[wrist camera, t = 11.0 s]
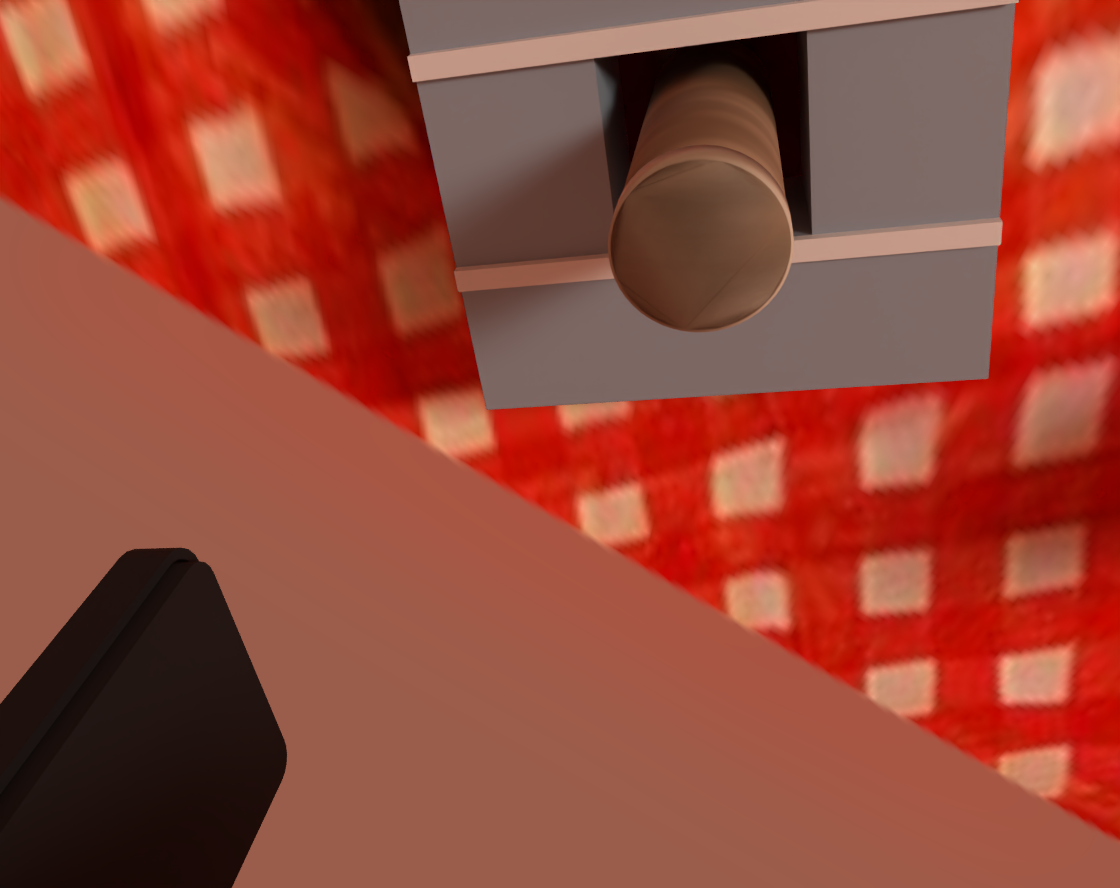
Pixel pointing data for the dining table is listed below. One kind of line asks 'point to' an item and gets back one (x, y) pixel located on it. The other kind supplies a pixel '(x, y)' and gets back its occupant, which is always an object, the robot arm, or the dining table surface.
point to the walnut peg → (704, 195)
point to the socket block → (813, 198)
